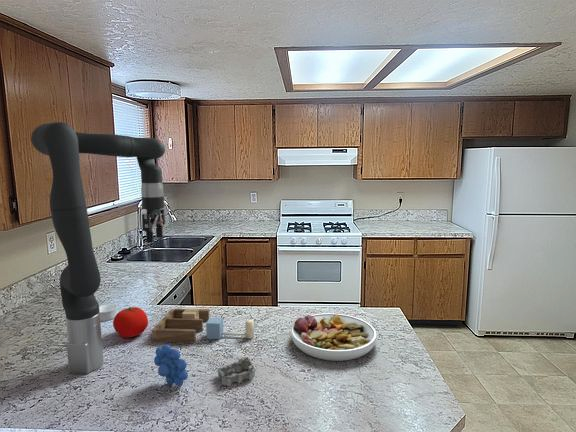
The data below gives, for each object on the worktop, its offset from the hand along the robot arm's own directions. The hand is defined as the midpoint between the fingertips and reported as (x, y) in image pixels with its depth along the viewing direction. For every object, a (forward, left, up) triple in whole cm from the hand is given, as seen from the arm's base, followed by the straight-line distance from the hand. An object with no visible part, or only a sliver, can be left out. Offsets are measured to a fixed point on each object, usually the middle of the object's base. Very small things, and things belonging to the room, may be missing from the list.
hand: (155, 239), depth 138 cm
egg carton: (-27, -35, -37) cm, 57 cm away
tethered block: (-1, -28, -36) cm, 45 cm away
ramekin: (+13, +28, -36) cm, 48 cm away
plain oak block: (+7, -10, -36) cm, 38 cm away
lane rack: (+3, -8, -36) cm, 37 cm away
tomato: (-2, +10, -36) cm, 38 cm away
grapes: (-33, -16, -36) cm, 52 cm away
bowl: (-4, -65, -37) cm, 75 cm away
